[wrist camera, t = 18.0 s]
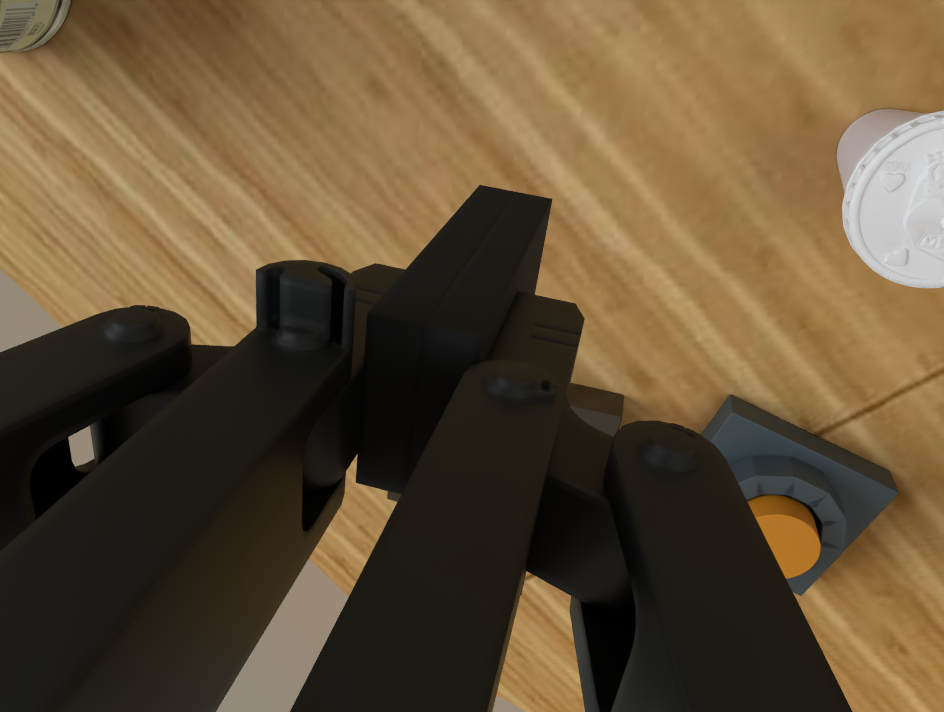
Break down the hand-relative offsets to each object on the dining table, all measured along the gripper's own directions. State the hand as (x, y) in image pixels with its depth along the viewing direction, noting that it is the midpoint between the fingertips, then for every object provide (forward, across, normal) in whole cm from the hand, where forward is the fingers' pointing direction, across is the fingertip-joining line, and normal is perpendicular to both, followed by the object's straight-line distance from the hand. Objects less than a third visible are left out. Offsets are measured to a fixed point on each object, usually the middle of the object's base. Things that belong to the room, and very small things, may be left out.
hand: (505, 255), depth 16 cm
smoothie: (+25, +13, 0) cm, 28 cm away
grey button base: (+24, +14, -20) cm, 35 cm away
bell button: (+21, +14, -20) cm, 32 cm away
